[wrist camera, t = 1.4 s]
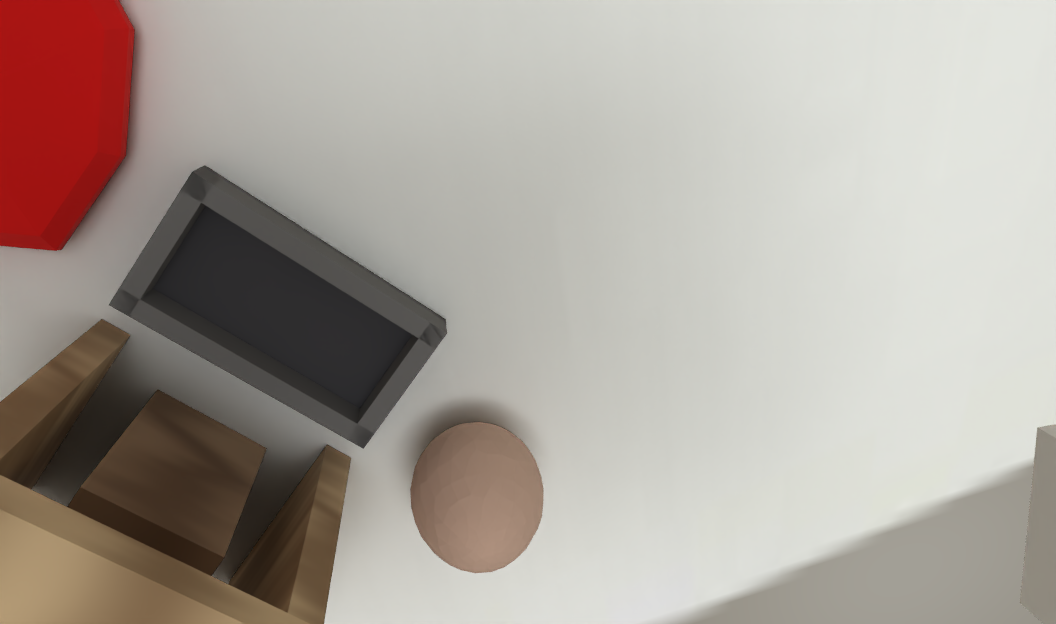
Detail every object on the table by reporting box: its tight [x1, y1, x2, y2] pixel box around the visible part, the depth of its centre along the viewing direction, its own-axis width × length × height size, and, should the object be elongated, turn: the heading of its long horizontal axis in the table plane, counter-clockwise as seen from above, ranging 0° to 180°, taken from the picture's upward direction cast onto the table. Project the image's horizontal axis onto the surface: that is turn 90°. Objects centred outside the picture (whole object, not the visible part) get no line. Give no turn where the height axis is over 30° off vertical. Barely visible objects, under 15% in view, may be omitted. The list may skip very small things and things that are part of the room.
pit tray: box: [109, 166, 447, 449], centre depth 31 cm, size 11×6×2 cm, turn 54°
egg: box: [410, 422, 543, 573], centre depth 32 cm, size 5×5×7 cm
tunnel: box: [0, 319, 351, 624], centre depth 28 cm, size 11×8×12 cm
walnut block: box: [68, 390, 267, 576], centre depth 31 cm, size 5×15×8 cm, turn 144°
